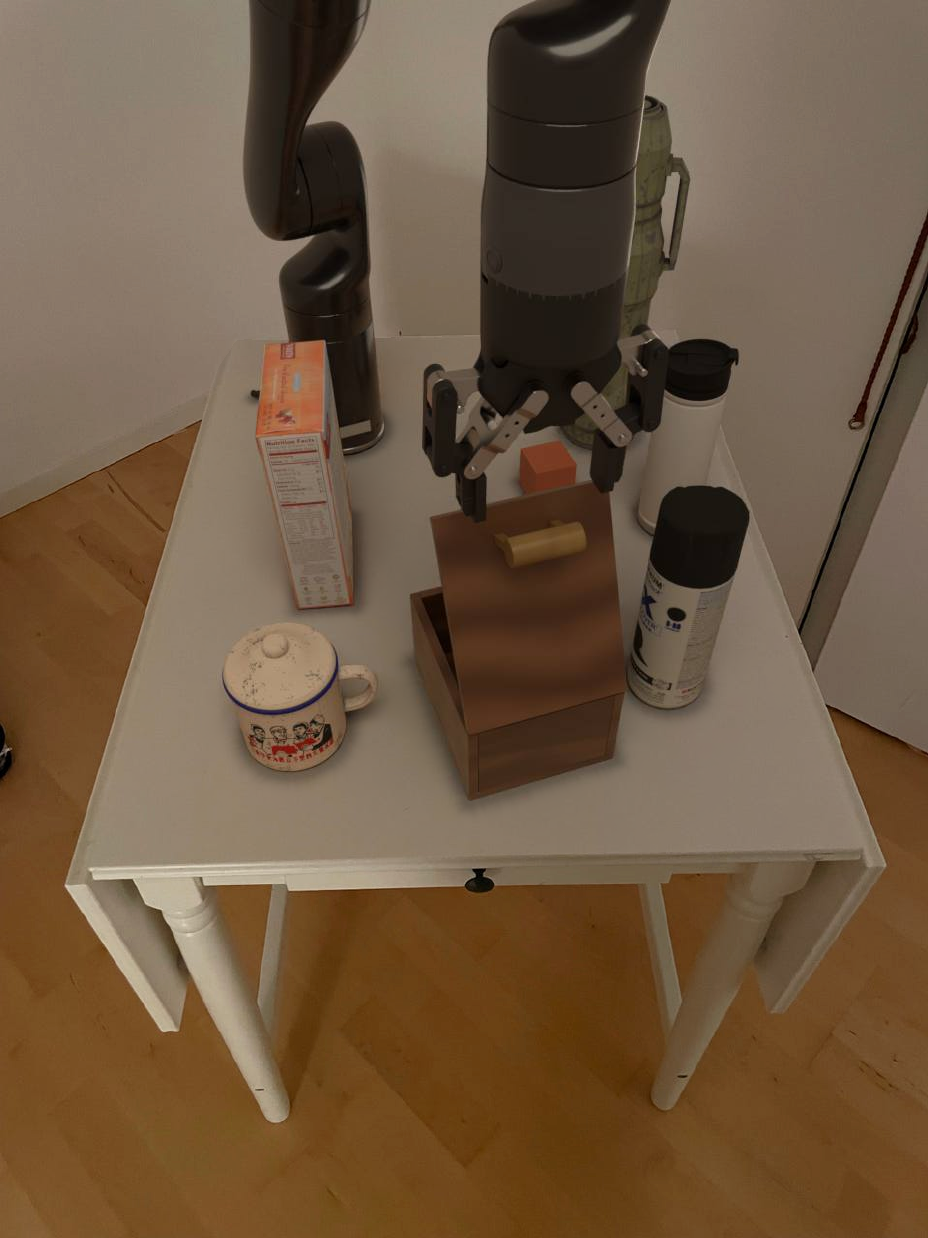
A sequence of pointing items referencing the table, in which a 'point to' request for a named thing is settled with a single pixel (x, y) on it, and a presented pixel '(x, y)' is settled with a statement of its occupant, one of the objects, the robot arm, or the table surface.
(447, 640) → the chest
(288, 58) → the robot arm
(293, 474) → the cracker box
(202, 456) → the table surface
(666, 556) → the spray can
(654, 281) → the thermos
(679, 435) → the travel mug
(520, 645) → the lid
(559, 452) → the block
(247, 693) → the teacup with lid
